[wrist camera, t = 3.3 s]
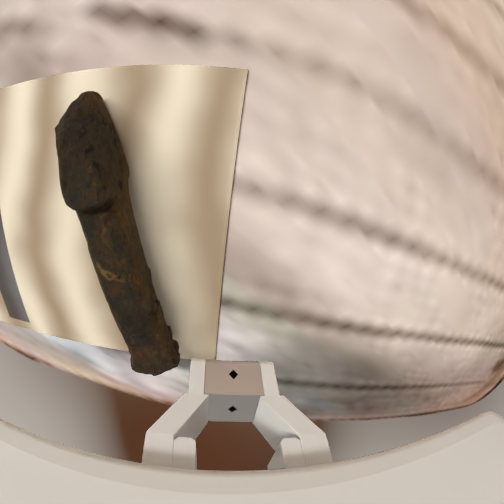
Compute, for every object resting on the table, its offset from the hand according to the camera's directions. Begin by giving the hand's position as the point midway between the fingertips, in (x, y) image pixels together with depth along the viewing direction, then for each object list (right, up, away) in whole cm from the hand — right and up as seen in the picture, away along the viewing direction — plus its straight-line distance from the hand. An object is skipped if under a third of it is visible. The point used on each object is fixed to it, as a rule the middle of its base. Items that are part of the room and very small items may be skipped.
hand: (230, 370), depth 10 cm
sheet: (-15, +6, +7) cm, 17 cm away
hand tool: (-8, +5, +8) cm, 12 cm away
